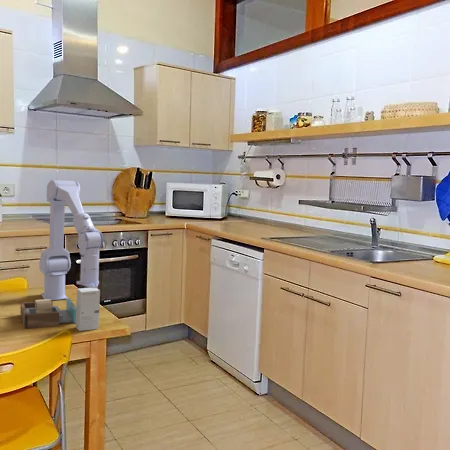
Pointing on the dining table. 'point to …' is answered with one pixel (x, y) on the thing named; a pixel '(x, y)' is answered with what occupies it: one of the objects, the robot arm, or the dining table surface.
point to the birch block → (43, 306)
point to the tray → (62, 312)
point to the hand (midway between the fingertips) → (88, 308)
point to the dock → (38, 317)
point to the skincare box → (87, 308)
